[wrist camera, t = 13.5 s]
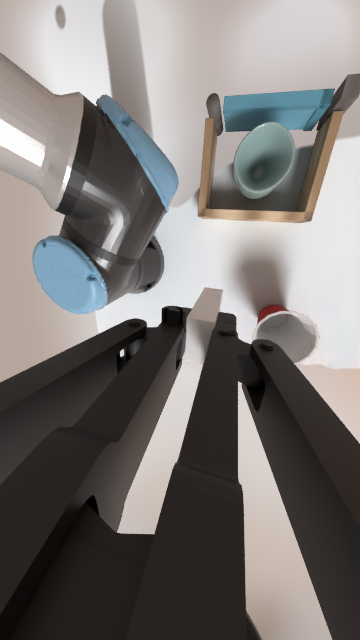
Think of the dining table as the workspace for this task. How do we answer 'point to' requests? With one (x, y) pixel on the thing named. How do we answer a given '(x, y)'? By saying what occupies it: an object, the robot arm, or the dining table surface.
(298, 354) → the plastic cup
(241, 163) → the cup
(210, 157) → the wooden u-shaped tray
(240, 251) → the dining table surface
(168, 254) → the dining table surface
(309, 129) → the blue flat rectangular panel
